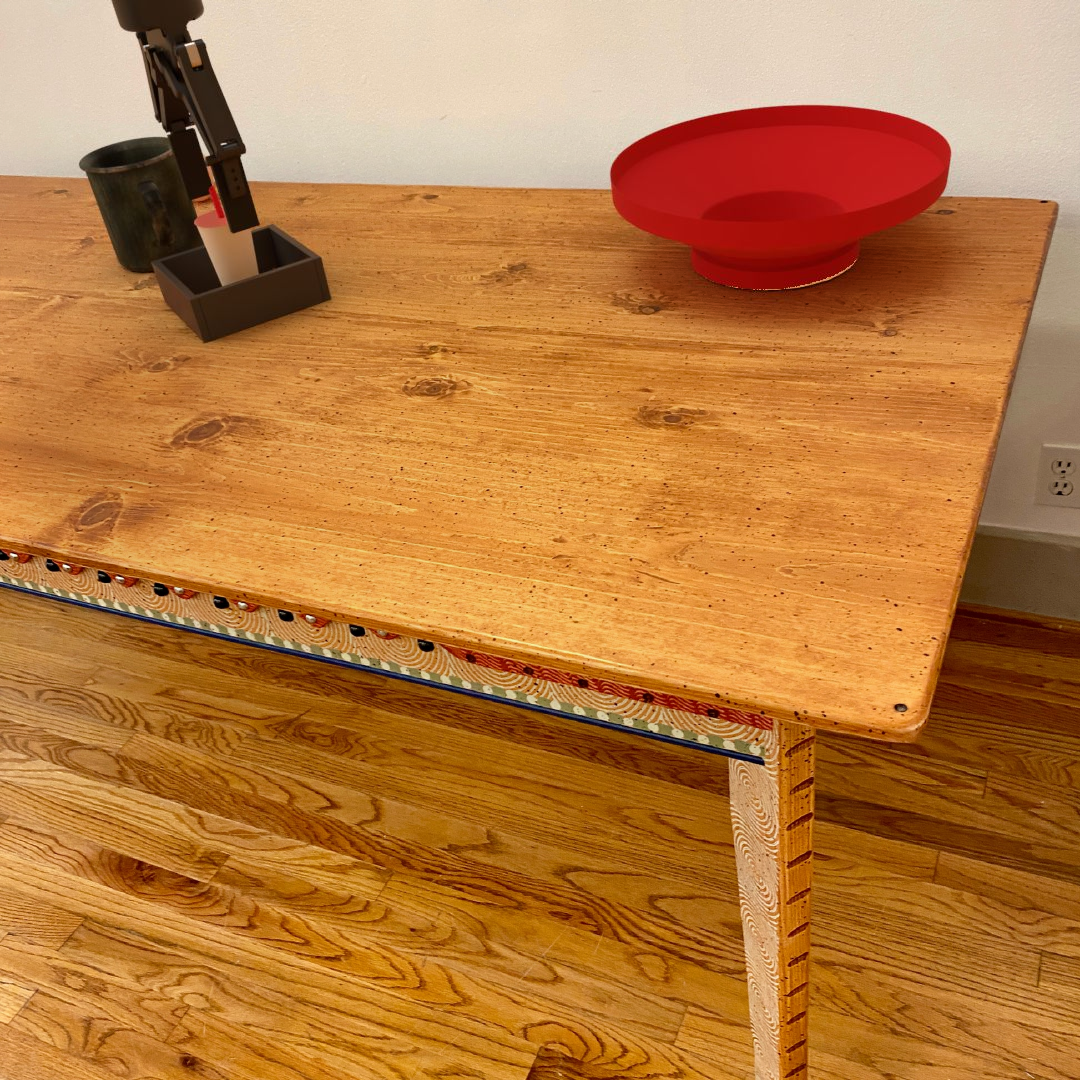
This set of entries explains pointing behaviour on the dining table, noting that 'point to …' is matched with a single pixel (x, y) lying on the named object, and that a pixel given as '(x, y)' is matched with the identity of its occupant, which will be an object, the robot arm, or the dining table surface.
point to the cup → (227, 245)
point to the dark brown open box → (242, 285)
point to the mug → (142, 201)
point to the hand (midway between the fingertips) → (222, 212)
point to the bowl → (779, 188)
